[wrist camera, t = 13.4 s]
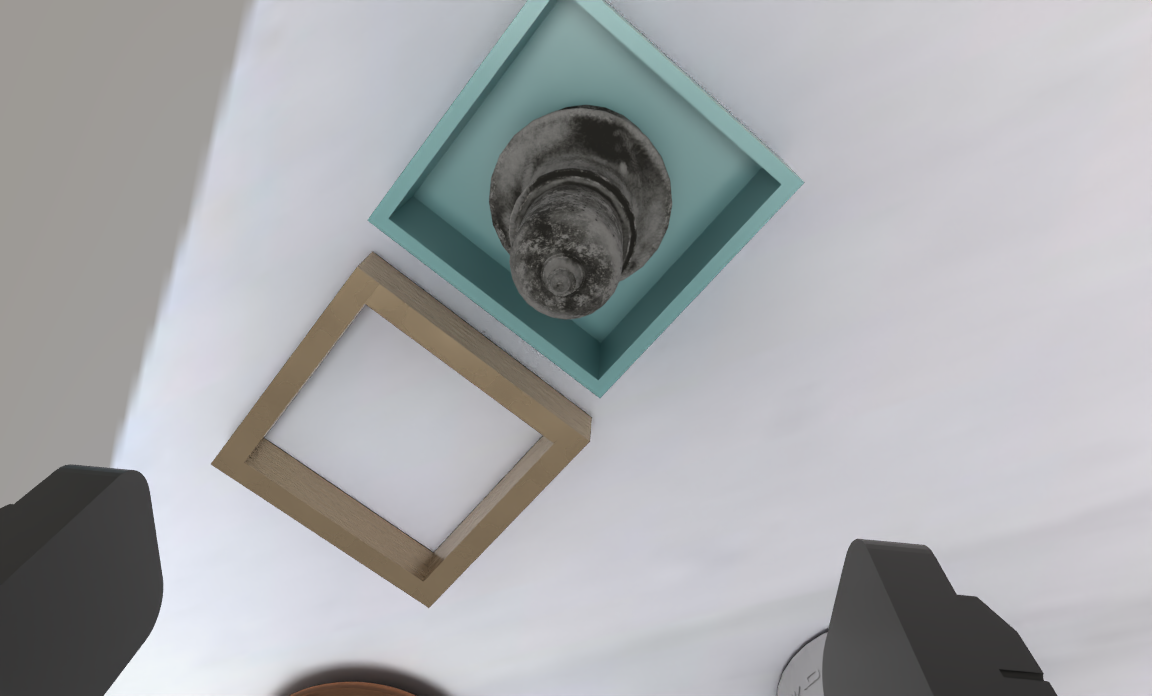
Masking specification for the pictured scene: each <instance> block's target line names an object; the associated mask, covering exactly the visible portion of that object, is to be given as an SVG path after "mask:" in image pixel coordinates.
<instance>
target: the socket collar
mask: <svg viewBox="0 0 1152 696" xmlns="http://www.w3.org/2000/svg"><path fill="white" fill-rule="evenodd" d="M365 305H367V306H369V307H370V308H371V309H373V310H374V311H375V312H377V313H378V314H379V315H381V316H382V317H384V318H385V319H386V320H388V321H389V322H390V323H392V324H393V325H394V326H396V327H397V328H398V329H400V330H401V331H402V332H404V333H405V334H407V335H408V336H409V337H411V338H412V339H413V340H415V341H416V342H417V343H419V344H420V345H421V346H423V347H424V348H425V349H427V350H428V351H429V352H431V353H432V354H434V355H435V356H436V357H438V358H439V359H440V360H442V361H443V362H444V363H446V364H447V365H448V366H450V367H451V368H452V369H454V370H455V371H457V372H458V373H459V374H461V375H462V376H463V377H465V378H466V379H467V380H469V381H470V382H471V383H473V384H474V385H475V386H477V387H478V388H480V389H481V390H482V391H484V392H485V393H486V394H488V395H489V396H490V397H492V398H493V399H494V400H496V401H497V402H498V403H500V404H501V405H502V406H504V407H505V408H507V409H508V410H509V411H511V412H512V413H513V414H515V415H516V416H517V417H519V418H520V419H521V420H523V421H524V422H525V423H527V424H528V425H530V426H531V427H532V428H534V429H535V430H536V431H538V432H539V433H540V434H542V435H543V436H542V437H541V438H540V439H539V440H538V441H537V443H536V444H535V445H534V446H533V447H532V448H531V449H530V450H529V451H528V452H527V453H526V454H525V455H524V456H523V458H522V459H521V460H520V461H519V462H518V463H517V464H516V465H515V466H514V467H513V468H512V469H511V470H510V471H509V473H508V474H507V475H506V476H505V477H504V478H503V479H502V480H501V481H500V482H499V483H498V484H497V485H496V486H495V487H494V489H493V490H492V491H491V492H490V493H489V494H488V495H487V496H486V497H485V498H484V499H483V500H482V501H481V502H480V504H479V505H478V506H477V507H476V508H475V509H474V510H473V511H472V512H471V513H470V514H469V515H468V516H467V517H466V519H465V520H464V521H463V522H462V523H461V524H460V525H459V526H458V527H457V528H456V529H455V530H454V531H453V532H452V534H451V535H450V536H449V537H448V538H447V539H446V540H445V541H444V542H443V543H442V544H441V545H440V546H439V547H438V549H437V550H436V551H435V552H434V553H433V552H431V551H430V550H428V549H427V548H425V547H424V546H423V545H421V544H420V543H418V542H417V541H415V540H414V539H412V538H411V537H409V536H408V535H406V534H405V533H403V532H402V531H400V530H399V529H397V528H396V527H394V526H393V525H392V524H390V523H389V522H387V521H386V520H384V519H383V518H381V517H380V516H378V515H377V514H375V513H374V512H372V511H371V510H369V509H368V508H366V507H365V506H363V505H362V504H361V503H359V502H358V501H356V500H355V499H353V498H352V497H350V496H349V495H347V494H346V493H344V492H343V491H341V490H340V489H338V488H337V487H335V486H334V485H332V484H331V483H330V482H328V481H327V480H325V479H324V478H322V477H321V476H319V475H318V474H316V473H315V472H313V471H312V470H310V469H309V468H307V467H306V466H304V465H303V464H301V463H300V462H299V461H297V460H296V459H294V458H293V457H291V456H290V455H288V454H287V453H285V452H284V451H282V450H281V449H279V448H278V447H276V446H275V445H273V444H272V443H270V442H269V441H268V440H266V439H265V438H264V437H265V436H266V435H267V433H268V432H269V431H270V429H271V428H272V427H273V425H274V424H275V423H276V421H277V420H278V419H279V418H280V416H281V415H282V414H283V412H284V411H285V410H286V408H287V407H288V406H289V404H290V403H291V402H292V401H293V399H294V398H295V397H296V395H297V394H298V393H299V391H300V390H301V389H302V387H303V386H304V385H305V383H306V382H307V381H308V380H309V378H310V377H311V376H312V374H313V373H314V372H315V370H316V369H317V368H318V366H319V365H320V364H321V363H322V361H323V360H324V359H325V357H326V356H327V355H328V353H329V352H330V351H331V349H332V348H333V347H334V345H335V344H336V343H337V342H338V340H339V339H340V338H341V336H342V335H343V334H344V332H345V331H346V330H347V328H348V327H349V326H350V324H351V323H352V322H353V321H354V319H355V318H356V317H357V315H358V314H359V313H360V311H361V310H362V309H363V307H364V306H365ZM591 420H592V417H590V416H589V415H588V414H586V413H585V412H584V411H582V410H581V409H580V408H578V407H577V406H576V405H575V404H573V403H572V402H571V401H569V400H568V399H567V398H565V397H564V396H563V395H561V394H560V393H559V392H557V391H556V390H555V389H553V388H552V387H551V386H549V385H548V384H547V383H545V382H544V381H543V380H542V379H540V378H539V377H538V376H536V375H535V374H534V373H532V372H531V371H530V370H528V369H527V368H526V367H524V366H523V365H522V364H520V363H519V362H518V361H516V360H515V359H514V358H512V357H511V356H510V355H509V354H507V353H506V352H505V351H503V350H502V349H501V348H499V347H498V346H497V345H495V344H494V343H493V342H491V341H490V340H489V339H487V338H486V337H485V336H483V335H482V334H481V333H479V332H478V331H477V330H476V329H474V328H473V327H472V326H470V325H469V324H468V323H466V322H465V321H464V320H462V319H461V318H460V317H458V316H457V315H456V314H454V313H453V312H452V311H450V310H449V309H448V308H446V307H445V306H444V305H443V304H441V303H440V302H439V301H437V300H436V299H435V298H433V297H432V296H431V295H429V294H428V293H427V292H425V291H424V290H423V289H421V288H420V287H419V286H417V285H416V284H415V283H413V282H412V281H411V280H410V279H408V278H407V277H406V276H404V275H403V274H402V273H400V272H399V271H398V270H396V269H395V268H394V267H392V266H391V265H390V264H388V263H387V262H386V261H384V260H383V259H382V258H380V257H379V256H378V255H377V254H375V253H374V252H372V253H371V254H370V255H369V256H368V257H367V258H366V259H365V260H364V261H363V262H362V263H361V264H360V265H359V266H358V267H357V268H356V269H355V271H354V272H353V273H352V275H351V276H350V277H349V279H348V280H347V281H346V283H345V284H344V285H343V287H342V288H341V289H340V291H339V292H338V293H337V295H336V296H335V297H334V299H333V300H332V302H331V303H330V304H329V306H328V307H327V308H326V310H325V311H324V312H323V314H322V315H321V316H320V318H319V319H318V320H317V322H316V323H315V324H314V326H313V327H312V328H311V330H310V331H309V332H308V334H307V335H306V337H305V338H304V339H303V341H302V342H301V343H300V345H299V346H298V347H297V349H296V350H295V351H294V353H293V354H292V355H291V357H290V358H289V359H288V361H287V362H286V363H285V365H284V366H283V368H282V369H281V370H280V372H279V373H278V374H277V376H276V377H275V378H274V380H273V381H272V382H271V384H270V385H269V386H268V388H267V389H266V390H265V392H264V393H263V394H262V396H261V397H260V399H259V400H258V401H257V403H256V404H255V405H254V407H253V408H252V409H251V411H250V412H249V413H248V415H247V416H246V417H245V419H244V420H243V421H242V423H241V424H240V425H239V427H238V428H237V430H236V431H235V432H234V434H233V435H232V436H231V438H230V439H229V440H228V442H227V443H226V444H225V446H224V447H223V448H222V450H221V451H220V452H219V454H218V455H217V456H216V458H215V459H214V461H213V462H212V463H211V465H213V466H214V467H216V468H217V469H219V470H220V471H222V472H223V473H225V474H226V475H228V476H230V477H231V478H233V479H234V480H236V481H237V482H239V483H240V484H242V485H243V486H245V487H246V488H248V489H249V490H251V491H252V492H254V493H255V494H257V495H258V496H260V497H261V498H263V499H264V500H266V501H267V502H269V503H270V504H272V505H274V506H275V507H277V508H278V509H280V510H281V511H283V512H284V513H286V514H287V515H289V516H290V517H292V518H293V519H295V520H296V521H298V522H299V523H301V524H302V525H304V526H305V527H307V528H308V529H310V530H311V531H313V532H314V533H316V534H317V535H319V536H321V537H322V538H324V539H325V540H327V541H328V542H330V543H331V544H333V545H334V546H336V547H337V548H339V549H340V550H342V551H343V552H345V553H346V554H348V555H349V556H351V557H352V558H354V559H355V560H357V561H358V562H360V563H361V564H363V565H365V566H366V567H368V568H369V569H371V570H372V571H374V572H375V573H377V574H378V575H380V576H381V577H383V578H384V579H386V580H387V581H389V582H390V583H392V584H393V585H395V586H396V587H398V588H399V589H401V590H402V591H404V592H405V593H407V594H409V595H410V596H412V597H413V598H415V599H416V600H418V601H419V602H421V603H422V604H424V605H425V606H427V607H428V608H429V607H430V606H431V605H432V604H433V603H434V602H435V601H436V600H437V599H438V598H439V597H440V596H441V595H442V594H443V593H444V592H445V591H446V590H447V589H448V588H449V587H450V586H451V585H452V584H453V583H454V581H455V580H456V579H457V578H458V577H459V576H460V575H461V574H462V573H463V572H464V571H465V570H466V569H467V568H468V567H469V566H470V565H471V564H472V563H473V562H474V561H475V560H476V559H477V558H478V557H479V556H480V555H481V554H482V553H483V551H484V550H485V549H486V548H487V547H488V546H489V545H490V544H491V543H492V542H493V541H494V540H495V539H496V538H497V537H498V536H499V535H500V534H501V533H502V532H503V531H504V530H505V529H506V528H507V527H508V526H509V525H510V524H511V522H512V521H513V520H514V519H515V518H516V517H517V516H518V515H519V514H520V513H521V512H522V511H523V510H524V509H525V508H526V507H527V506H528V505H529V504H530V503H531V502H532V501H533V500H534V499H535V498H536V497H537V496H538V495H539V494H540V492H541V491H542V490H543V489H544V488H545V487H546V486H547V485H548V484H549V483H550V482H551V481H552V480H553V479H554V478H555V477H556V476H557V475H558V474H559V473H560V472H561V471H562V470H563V469H564V468H565V467H566V466H567V465H568V463H569V462H570V461H571V460H572V459H573V458H574V457H575V456H576V455H577V454H578V453H579V452H580V451H581V450H582V449H583V448H584V447H585V446H586V445H587V444H588V443H589V442H590V433H591Z"/></svg>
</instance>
